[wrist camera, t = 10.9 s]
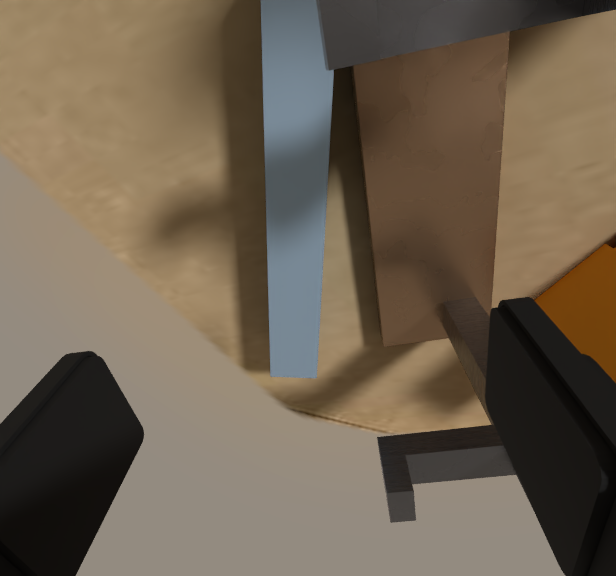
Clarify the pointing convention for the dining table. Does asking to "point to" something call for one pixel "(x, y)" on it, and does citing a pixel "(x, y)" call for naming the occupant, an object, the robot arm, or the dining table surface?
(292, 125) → the rail
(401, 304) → the stand
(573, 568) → the robot arm
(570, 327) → the bracket
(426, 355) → the dining table surface
